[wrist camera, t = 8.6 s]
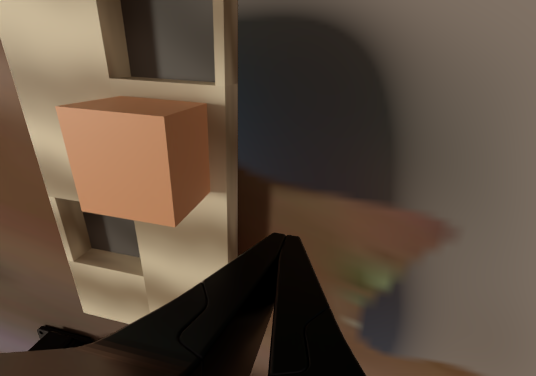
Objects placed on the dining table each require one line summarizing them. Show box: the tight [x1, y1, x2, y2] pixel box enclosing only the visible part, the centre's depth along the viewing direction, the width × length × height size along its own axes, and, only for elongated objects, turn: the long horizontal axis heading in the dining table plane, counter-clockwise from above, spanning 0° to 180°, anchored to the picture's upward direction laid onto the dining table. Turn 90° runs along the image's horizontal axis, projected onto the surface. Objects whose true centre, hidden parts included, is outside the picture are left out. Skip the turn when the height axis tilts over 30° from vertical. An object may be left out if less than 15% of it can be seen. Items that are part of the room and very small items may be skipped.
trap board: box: [0, 0, 238, 324], centre depth 16 cm, size 33×13×4 cm, turn 177°
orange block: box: [55, 96, 210, 227], centre depth 14 cm, size 5×5×4 cm
